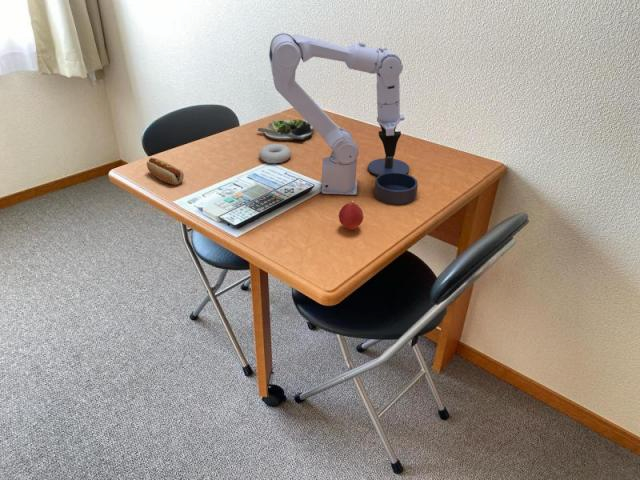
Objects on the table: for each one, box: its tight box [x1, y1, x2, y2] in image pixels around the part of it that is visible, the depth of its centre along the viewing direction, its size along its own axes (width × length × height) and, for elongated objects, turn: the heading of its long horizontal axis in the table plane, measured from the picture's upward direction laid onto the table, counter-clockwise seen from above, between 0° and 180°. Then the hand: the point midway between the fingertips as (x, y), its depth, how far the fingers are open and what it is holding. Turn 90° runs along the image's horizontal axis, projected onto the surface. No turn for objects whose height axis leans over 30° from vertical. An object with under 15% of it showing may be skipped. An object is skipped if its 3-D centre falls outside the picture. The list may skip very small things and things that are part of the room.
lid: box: [367, 155, 410, 177], centre depth 142 cm, size 12×12×5 cm
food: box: [146, 157, 185, 186], centre depth 137 cm, size 14×6×5 cm, turn 49°
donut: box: [258, 143, 292, 164], centre depth 149 cm, size 10×4×10 cm
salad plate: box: [256, 119, 314, 142], centre depth 166 cm, size 19×18×5 cm
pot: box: [374, 172, 419, 206], centre depth 129 cm, size 11×11×4 cm
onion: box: [338, 200, 364, 231], centre depth 114 cm, size 6×6×8 cm
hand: (389, 150), depth 129 cm, fingers open, 7 cm apart
